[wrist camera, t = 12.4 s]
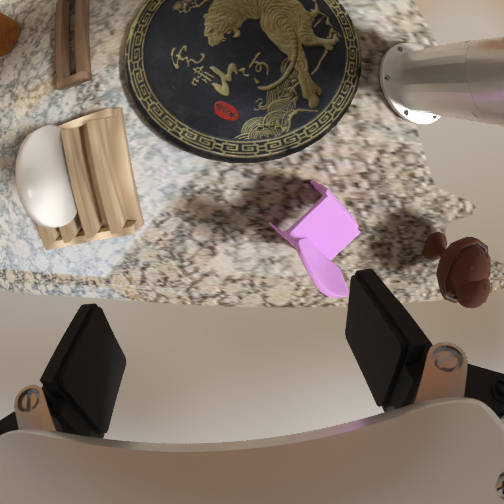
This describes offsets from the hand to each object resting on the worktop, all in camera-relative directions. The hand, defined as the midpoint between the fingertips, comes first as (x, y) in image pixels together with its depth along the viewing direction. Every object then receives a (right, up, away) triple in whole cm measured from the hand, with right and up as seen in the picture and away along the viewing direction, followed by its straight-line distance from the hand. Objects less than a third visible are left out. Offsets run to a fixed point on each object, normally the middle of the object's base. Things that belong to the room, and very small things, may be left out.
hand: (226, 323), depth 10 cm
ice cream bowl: (+33, +4, +33) cm, 47 cm away
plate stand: (-23, +31, +14) cm, 41 cm away
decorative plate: (0, +27, +19) cm, 33 cm away
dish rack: (-22, +12, +23) cm, 35 cm away
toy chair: (+8, +8, +29) cm, 31 cm away
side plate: (-22, +11, +16) cm, 29 cm away
